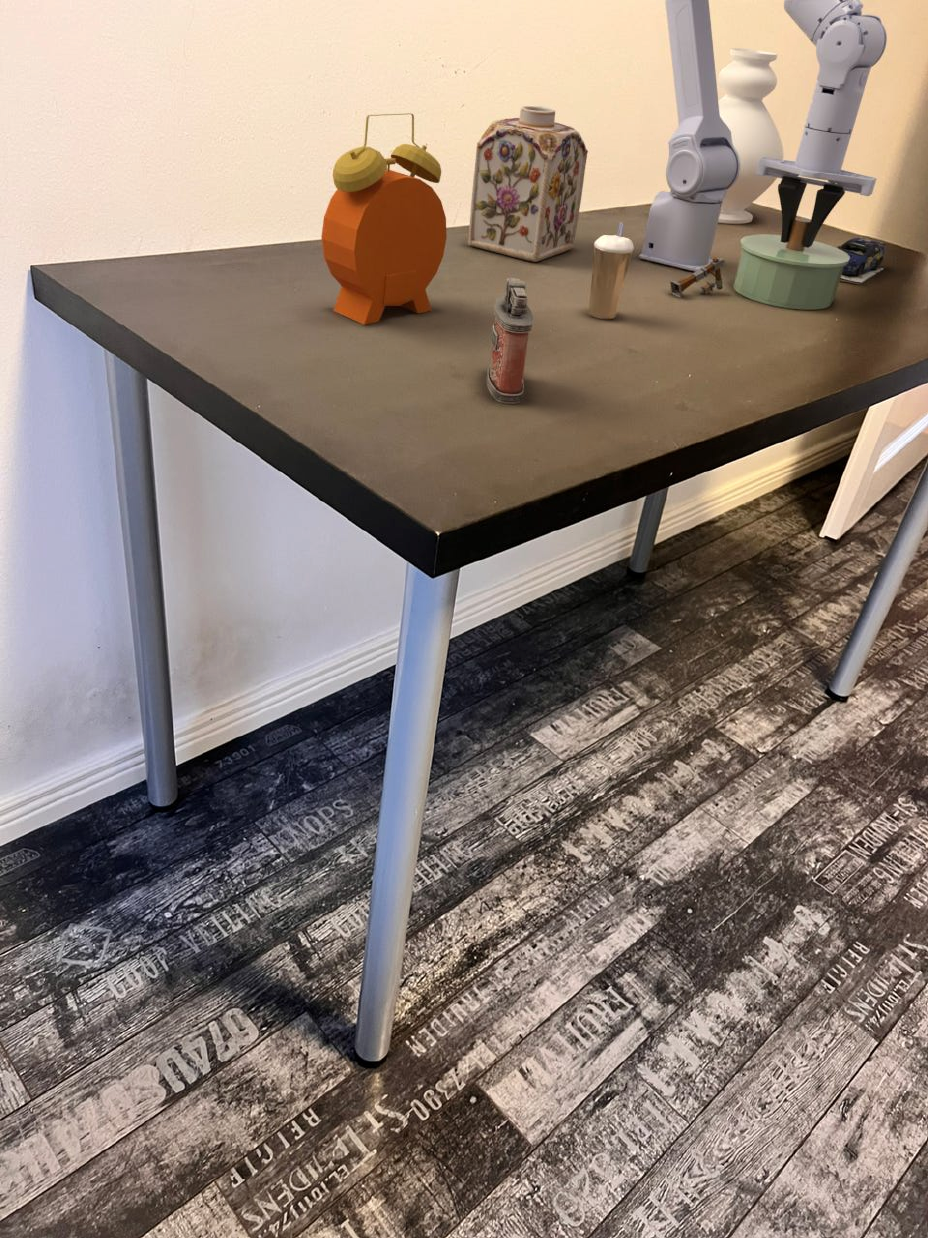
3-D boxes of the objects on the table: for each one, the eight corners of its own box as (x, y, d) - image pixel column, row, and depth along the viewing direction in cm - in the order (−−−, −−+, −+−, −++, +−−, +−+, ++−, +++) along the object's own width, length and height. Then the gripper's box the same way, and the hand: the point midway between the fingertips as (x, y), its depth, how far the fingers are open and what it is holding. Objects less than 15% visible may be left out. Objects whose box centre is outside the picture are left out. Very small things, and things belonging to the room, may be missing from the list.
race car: (858, 285, 137) (869, 253, 134) (813, 274, 140) (822, 242, 137) (885, 267, 147) (895, 237, 145) (842, 257, 150) (851, 227, 147)
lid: (724, 254, 124) (733, 216, 122) (757, 236, 134) (766, 201, 132) (832, 279, 119) (844, 240, 116) (858, 259, 129) (869, 222, 126)
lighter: (483, 370, 96) (493, 268, 90) (516, 372, 96) (528, 271, 90) (491, 402, 89) (503, 294, 83) (527, 404, 90) (541, 297, 84)
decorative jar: (575, 250, 139) (596, 111, 128) (537, 264, 130) (556, 117, 120) (505, 232, 143) (520, 98, 133) (464, 245, 135) (476, 102, 125)
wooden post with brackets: (731, 286, 126) (728, 255, 123) (682, 314, 125) (678, 283, 122) (722, 282, 128) (719, 251, 125) (674, 310, 127) (669, 279, 123)
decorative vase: (666, 218, 162) (701, 48, 147) (665, 198, 176) (696, 41, 162) (772, 232, 160) (817, 62, 146) (762, 210, 175) (802, 53, 160)
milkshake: (625, 311, 116) (641, 225, 111) (616, 323, 112) (633, 235, 106) (589, 304, 117) (603, 219, 111) (579, 316, 113) (593, 228, 107)
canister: (719, 292, 127) (730, 249, 124) (750, 273, 137) (761, 233, 134) (817, 316, 122) (830, 272, 119) (842, 295, 132) (855, 254, 128)
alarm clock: (407, 294, 114) (417, 107, 103) (442, 308, 111) (457, 116, 99) (318, 311, 106) (318, 110, 94) (353, 327, 103) (358, 121, 91)
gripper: (761, 121, 118) (733, 236, 126) (880, 142, 112) (843, 261, 120) (778, 117, 123) (750, 228, 131) (892, 137, 117) (856, 251, 125)
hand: (796, 243), depth 126 cm, fingers closed on lid, 2 cm apart
